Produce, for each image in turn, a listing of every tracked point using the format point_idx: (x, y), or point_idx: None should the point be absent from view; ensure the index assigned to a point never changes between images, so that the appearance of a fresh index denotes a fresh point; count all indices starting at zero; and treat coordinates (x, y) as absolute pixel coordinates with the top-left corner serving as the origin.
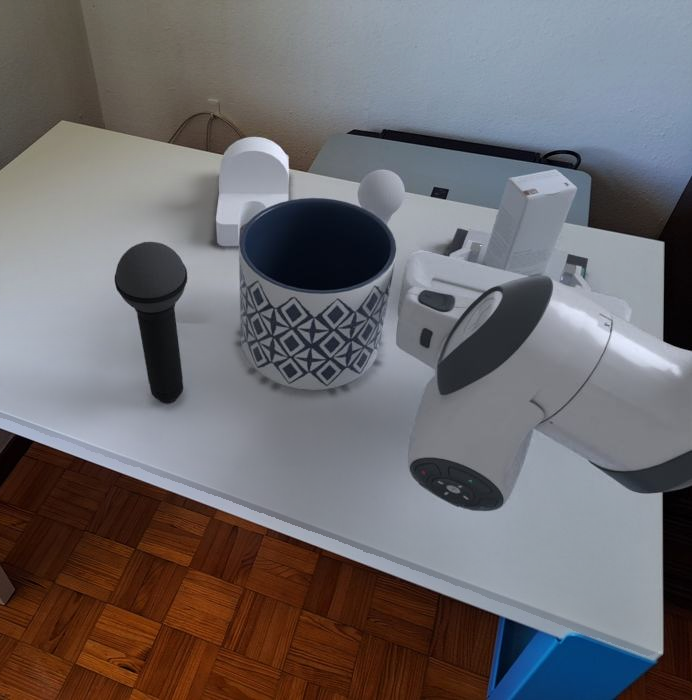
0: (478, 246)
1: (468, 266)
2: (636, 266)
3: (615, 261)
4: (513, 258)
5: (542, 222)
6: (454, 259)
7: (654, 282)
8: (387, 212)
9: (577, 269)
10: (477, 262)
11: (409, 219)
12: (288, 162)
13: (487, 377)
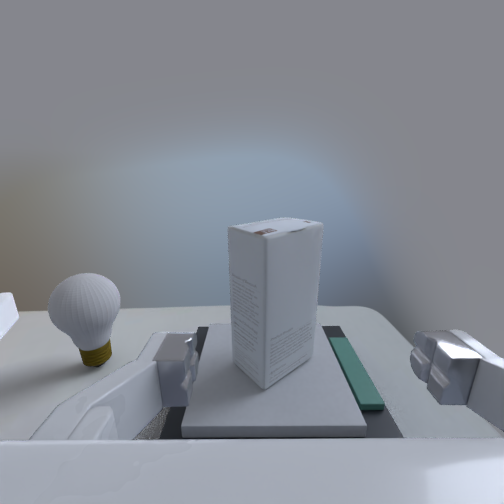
0: (182, 343)
1: (77, 498)
2: (373, 324)
3: (354, 324)
4: (272, 348)
5: (295, 281)
6: (14, 456)
7: (400, 335)
8: (92, 325)
9: (467, 340)
10: (225, 365)
11: (151, 330)
12: (6, 299)
13: None
